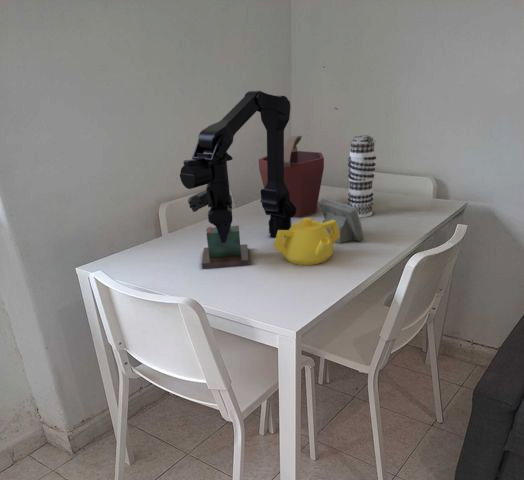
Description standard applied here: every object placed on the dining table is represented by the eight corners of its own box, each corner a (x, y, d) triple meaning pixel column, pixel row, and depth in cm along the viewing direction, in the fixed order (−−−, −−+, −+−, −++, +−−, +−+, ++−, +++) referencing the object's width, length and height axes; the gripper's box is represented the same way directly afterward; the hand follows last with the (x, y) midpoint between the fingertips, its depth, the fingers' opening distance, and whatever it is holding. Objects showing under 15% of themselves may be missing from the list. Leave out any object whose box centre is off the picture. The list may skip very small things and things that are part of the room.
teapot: (293, 278, 128) (292, 236, 122) (265, 256, 142) (262, 218, 136) (359, 262, 134) (361, 222, 128) (325, 243, 148) (326, 206, 143)
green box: (240, 248, 144) (238, 224, 141) (241, 255, 140) (238, 230, 136) (210, 251, 144) (207, 227, 141) (209, 258, 140) (206, 233, 136)
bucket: (281, 200, 193) (278, 131, 180) (335, 203, 184) (336, 131, 171) (253, 218, 175) (247, 142, 162) (311, 223, 166) (310, 143, 153)
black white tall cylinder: (373, 209, 175) (377, 133, 162) (373, 217, 167) (377, 138, 154) (347, 210, 176) (348, 134, 163) (346, 217, 169) (348, 139, 156)
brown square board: (247, 249, 148) (247, 244, 148) (249, 265, 137) (248, 259, 137) (204, 252, 148) (203, 247, 147) (202, 268, 137) (201, 263, 136)
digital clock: (366, 242, 147) (368, 206, 142) (339, 247, 145) (340, 211, 139) (340, 227, 160) (341, 194, 155) (315, 232, 158) (315, 198, 152)
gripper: (189, 175, 139) (197, 229, 147) (184, 191, 123) (193, 251, 132) (229, 172, 139) (234, 226, 148) (229, 188, 124) (235, 247, 132)
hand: (223, 237), depth 140 cm, fingers open, 9 cm apart
